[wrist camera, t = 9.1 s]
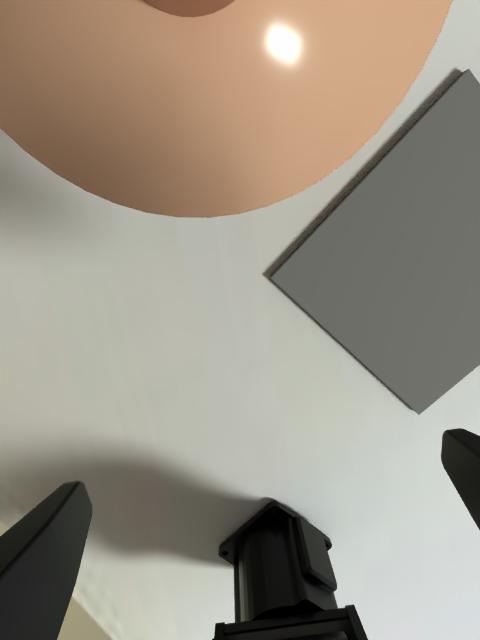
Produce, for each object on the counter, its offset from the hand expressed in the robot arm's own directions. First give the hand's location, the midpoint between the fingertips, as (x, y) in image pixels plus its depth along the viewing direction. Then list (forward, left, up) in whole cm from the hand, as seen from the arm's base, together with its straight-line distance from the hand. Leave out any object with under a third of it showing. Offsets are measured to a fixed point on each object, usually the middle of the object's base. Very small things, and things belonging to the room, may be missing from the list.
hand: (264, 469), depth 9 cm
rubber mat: (+10, -7, -13) cm, 18 cm away
